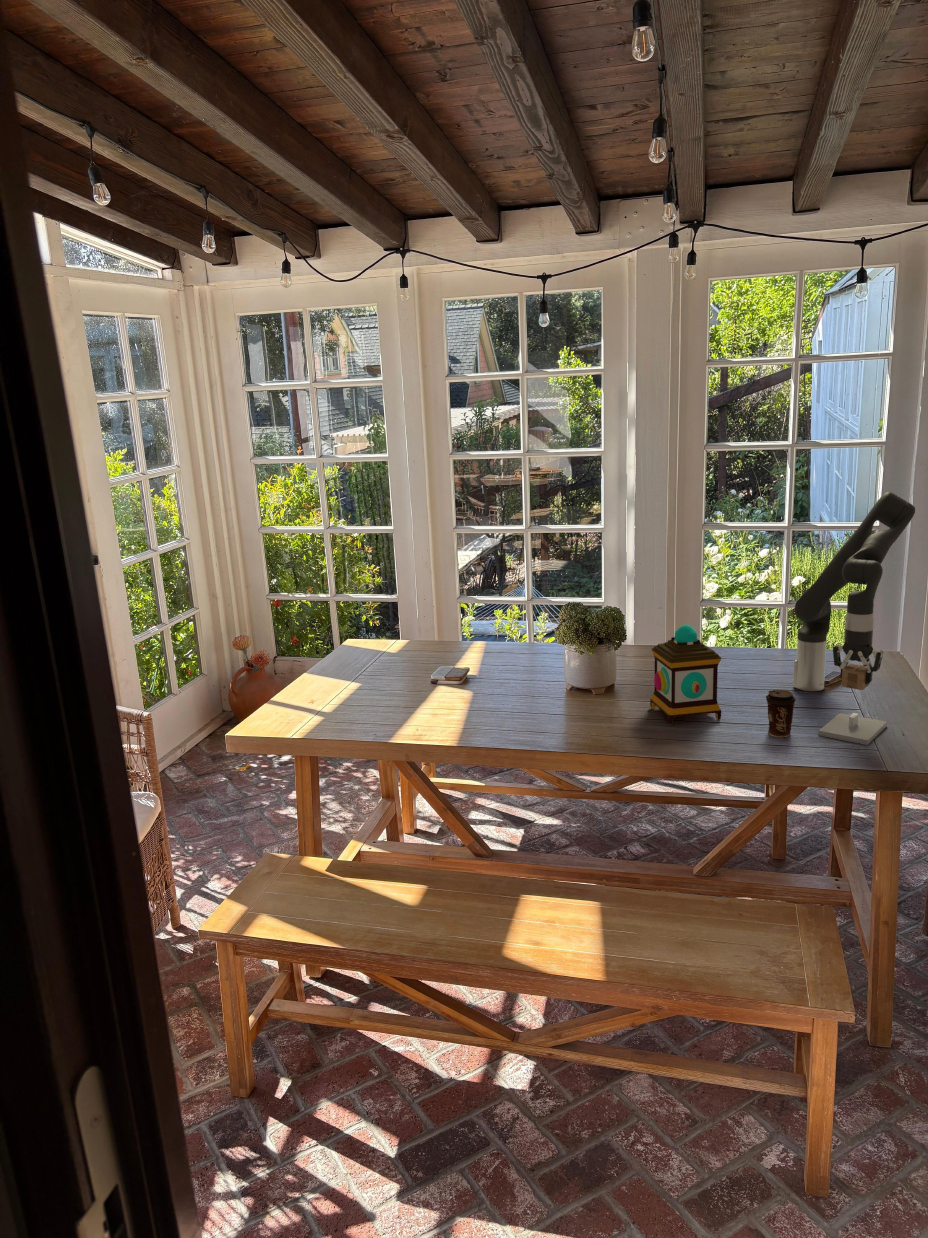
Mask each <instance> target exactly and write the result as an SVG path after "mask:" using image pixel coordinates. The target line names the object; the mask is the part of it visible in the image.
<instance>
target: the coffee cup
mask: <svg viewBox="0 0 928 1238" xmlns="http://www.w3.org/2000/svg"><path fill="white" fill-rule="evenodd" d="M765 698H766V699H765V700H766V702H767V719H768V730H767V733H768V735H769V734H770V735H769V736H771V737H773V736H774V737H773V738H780V737H782V738H783V737H785V738H788V737H789V736H790V735H791V730H792V725H793V718H794V710H795V702H796V698H795V696H794V693H793V692H792V691H790V690H787V689H772V690H768V694H767V695H766V696H765ZM782 738H781V739H782ZM783 739H784V738H783Z"/></svg>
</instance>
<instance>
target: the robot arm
mask: <svg viewBox="0 0 928 1238" xmlns="http://www.w3.org/2000/svg"><path fill="white" fill-rule="evenodd" d="M915 513H916V507H915V506H914V505H913V504H912V503H910V502H909V501H907V500H905V499H904V498H902V497H901V496H898V495H897V494H895V493H894V492H891V491H887V492H885V493H883V494H882V495H881V496H880V498H878V500H877V501H876V502H875V504H874V505H873V506H872V508H871V509H870V511H869V512H868V513H867V515H866V516H865V518H864V519H863V520H862V522H861V523H860V524H859V526H858V527H857V529H855V531H854V533H852V535H851V536H850V537H849V538H848V539H847V540H846V542H845V543H844V544H843V545H842V546H841V548H840V549H839V550H838V551H837V552H836V554H835V555H834V556H833V557H832V559H831V560H830V561H829V563H828V564H827V566H825V568H824V569H823V571H822V572H821V574H820V575H819V576H818V578H817V579H816V580H815V581H814V582H813V584H812V585H811V586H810V587H809V588H808V589H807V590H806V591H805V592H804V593H802V595H801V596H799V597H798V599H797V600H796V602H795V604H794V615H795V616H796V618H797V619H798V620H799V621H802V625H801V627H800V628H799V629H798V631H797V643H796V659H795V660H794V662H793V663H794V664H793V682H792V683H793V684H792V687H793V688H794V689H795V688H796V689H798V690H801V691H805V692H820V691H823V690H824V689H825V676H826V673H825V672H826V656H827V655H826V654H827V653H826V652H827V639H828V638H827V637H828V633H829V631H830V627H831V618H832V617H831V616H832V603H831V598H832V597H834V595H835V594H837V593H838V592H839V591H840V590H842V589H843V588H844V587H846V585H848V584H854V585H855V584H857V585H866V587H865V589H863V590H855V591H851V592H850V593H848V595H847V601H846V602H847V603H846V616H845V622H844V637H843V638H844V639H843V645H839V644H835V645H834V646H833V647H832V655H833V664H834V666H835V667H838V668H840V674H839V675H840V679H841V680H842V669H843V668H845V667H846V666H848V665H849V664H850V662H851V661H852V662H854V661H857V662H859V663H861V664H862V666H865V669H866V671H867V672H866V680H865V684H867V685H868V684H869V683H872V681H873V675H874V674H873V673H875V672H878V671H879V670H880V668H881V665H882V662H883V661H882V660H883V655H884V651H883V650H876V649H874V647H873V635H874V603H875V597H876V592H877V590H878V587H879V584H880V581H881V579H882V576H883V573H884V572H883V567H882V563H883V562H884V559H885V558H886V556H887V554H888V552H889V550H890V549H891V547H892V546H893V544H894V543H895V542H896V541H897V540H898V538H899V537H900V536H901V534H902V533H903V532H904V530H905V529H906V528H907V527H908V525H909V524H910V522H911V521H912V519H913V517H914V516H915ZM876 522H879V523H881V524H883V525H885V526H886V527H887V529H884V530H880V531H877V532H873V527H874V525H875V523H876ZM842 651H843V652H844V654H845V657H844V659H843V661H842V658H841V652H842ZM871 655H873V658H874V663H873V665H872V661H871V658H870V656H871ZM869 685H870V684H869ZM869 685H868V686H869Z"/></svg>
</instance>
